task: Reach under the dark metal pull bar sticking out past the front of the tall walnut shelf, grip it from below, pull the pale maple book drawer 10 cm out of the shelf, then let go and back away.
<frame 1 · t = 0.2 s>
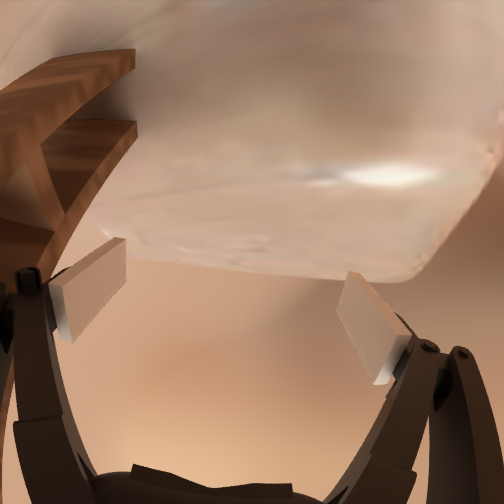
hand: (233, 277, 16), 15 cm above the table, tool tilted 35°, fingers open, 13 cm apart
walnut shelf: (91, 95, 21), on the table
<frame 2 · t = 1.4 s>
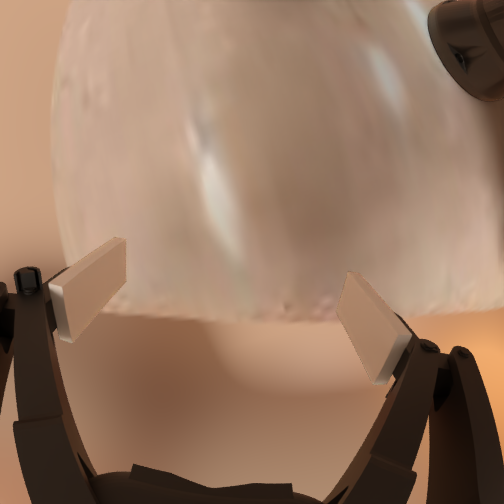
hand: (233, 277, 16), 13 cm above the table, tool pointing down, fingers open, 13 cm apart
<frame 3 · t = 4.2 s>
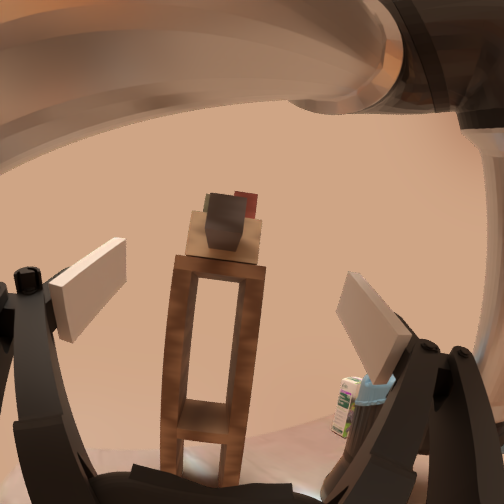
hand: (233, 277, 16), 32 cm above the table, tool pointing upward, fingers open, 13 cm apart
walnut shelf: (199, 489, 29), on the table
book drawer: (226, 218, 32), point 40 cm above the table, slide at 0.0 cm
syrup box: (345, 432, 54), on the table
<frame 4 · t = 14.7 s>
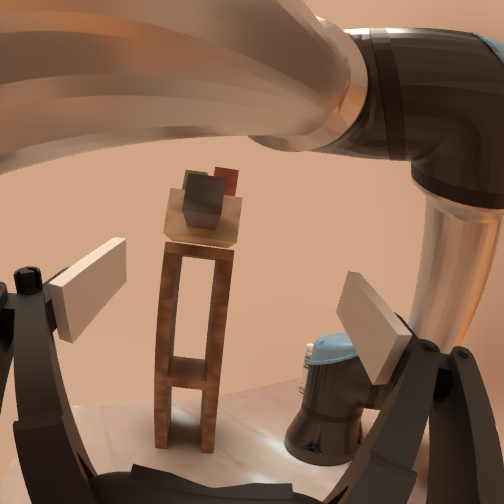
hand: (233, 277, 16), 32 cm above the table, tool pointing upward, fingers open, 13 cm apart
walnut shelf: (184, 435, 42), on the table
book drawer: (206, 195, 30), point 40 cm above the table, slide at 10.2 cm
syrup box: (311, 393, 70), on the table
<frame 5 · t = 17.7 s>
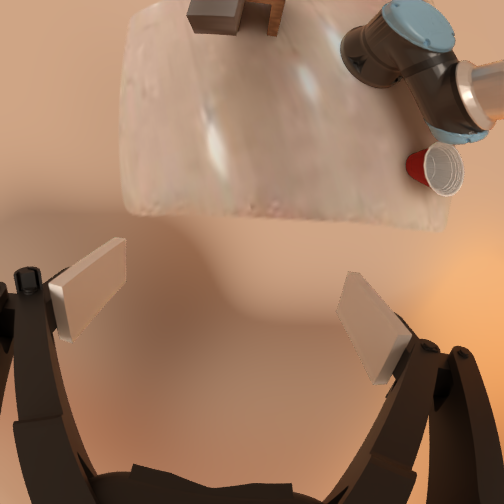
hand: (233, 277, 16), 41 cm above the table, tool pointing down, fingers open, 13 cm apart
walnut shelf: (256, 14, 41), on the table
plastic cup: (414, 165, 52), on the table
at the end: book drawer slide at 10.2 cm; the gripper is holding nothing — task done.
